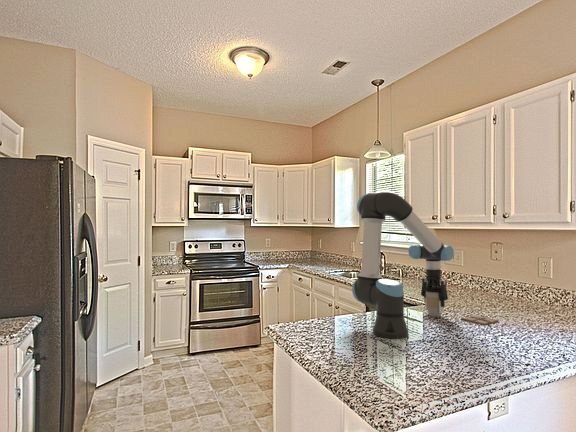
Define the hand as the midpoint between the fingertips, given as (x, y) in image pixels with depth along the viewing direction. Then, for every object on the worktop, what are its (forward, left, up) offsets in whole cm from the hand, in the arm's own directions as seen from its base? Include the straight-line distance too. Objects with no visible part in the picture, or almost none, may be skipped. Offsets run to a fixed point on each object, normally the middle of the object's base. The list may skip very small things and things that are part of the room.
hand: (434, 311), depth 189 cm
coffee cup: (0, 0, -2) cm, 2 cm away
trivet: (+10, -19, -2) cm, 22 cm away
